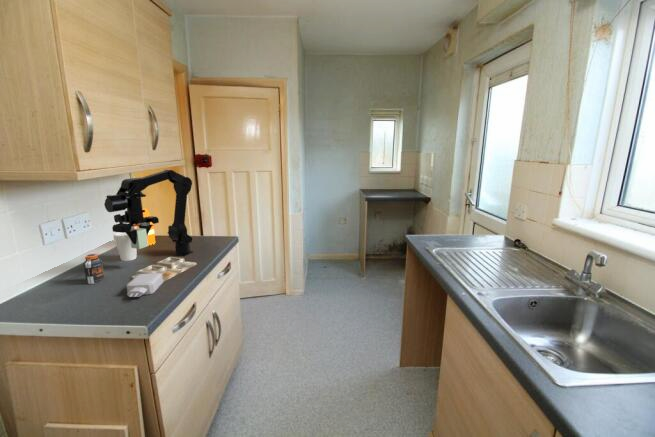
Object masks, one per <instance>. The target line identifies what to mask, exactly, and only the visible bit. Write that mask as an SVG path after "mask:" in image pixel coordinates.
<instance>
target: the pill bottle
mask: <svg viewBox="0 0 655 437" xmlns="http://www.w3.org/2000/svg"><path fill="white" fill-rule="evenodd" d="M84 257H85V259H84V261H83V263H82V266H83V270H84V271H83V272H84V277H85V281H86V284H88V285H95V284H96V285H97V284H98V283H102V282H103V281H104V280H105V274H104V267H103V261H102V259H101V258H99V256H98V253H90V254H87V255H86V254H85V256H84Z"/></svg>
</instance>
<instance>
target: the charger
mask: <svg viewBox="0 0 655 437" xmlns="http://www.w3.org/2000/svg"><path fill="white" fill-rule="evenodd" d="M162 284H164V282H163V278H162V274H160V273H151V274H139V275H137V276H136V277H135V278H134V279H133V278H132V280H131V281H129V282H128V283H127V284H126V290H127V291H126V292H127V293H126V295H127V296H128V297H129V298H131V297H132V298H139V297H142V296H143V295H152V294H154V293H155V292H156V291H157V290H158V289H159V288H160V287H161V286H162Z"/></svg>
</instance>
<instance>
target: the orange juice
mask: <svg viewBox="0 0 655 437" xmlns="http://www.w3.org/2000/svg"><path fill="white" fill-rule="evenodd" d="M142 209H143V210H145V212H144V213H143V216H144V217H147V216H151V214H150V212H149V211H148V209H147V208H142ZM150 224H151V225H153V226H152V227H151V229H150V231H149V233H148V235H147V241H148V246H147V247H149V245H150V246H153V245H155V243H156V235H155V228H154V224H153V223H152V222H150ZM133 225H135V224H133ZM136 228H139V226H135V227H134V229H136ZM152 244H153V245H152Z"/></svg>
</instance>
